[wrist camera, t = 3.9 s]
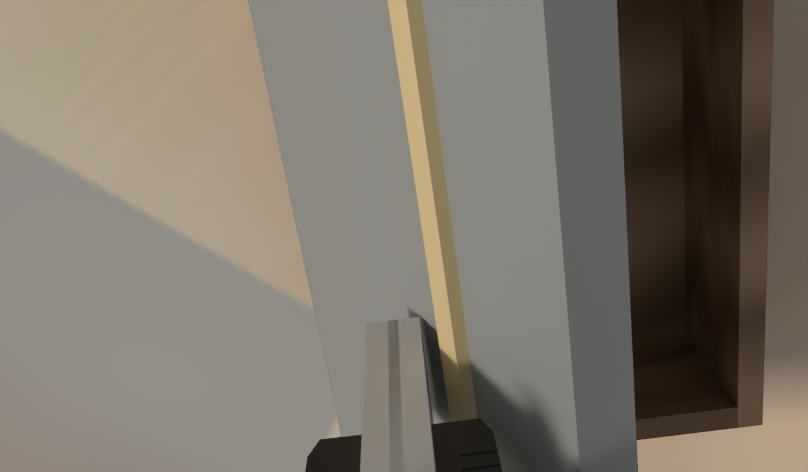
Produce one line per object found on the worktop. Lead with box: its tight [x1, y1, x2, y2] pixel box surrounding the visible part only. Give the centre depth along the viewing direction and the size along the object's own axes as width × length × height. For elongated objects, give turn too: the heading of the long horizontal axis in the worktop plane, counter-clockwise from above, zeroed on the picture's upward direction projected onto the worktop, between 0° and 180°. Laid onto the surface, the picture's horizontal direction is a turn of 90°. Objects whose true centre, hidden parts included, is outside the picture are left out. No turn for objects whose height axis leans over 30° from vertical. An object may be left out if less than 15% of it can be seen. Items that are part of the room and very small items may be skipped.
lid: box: [248, 0, 638, 472], centre depth 20 cm, size 23×17×2 cm
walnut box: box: [617, 0, 774, 440], centre depth 31 cm, size 22×16×7 cm
